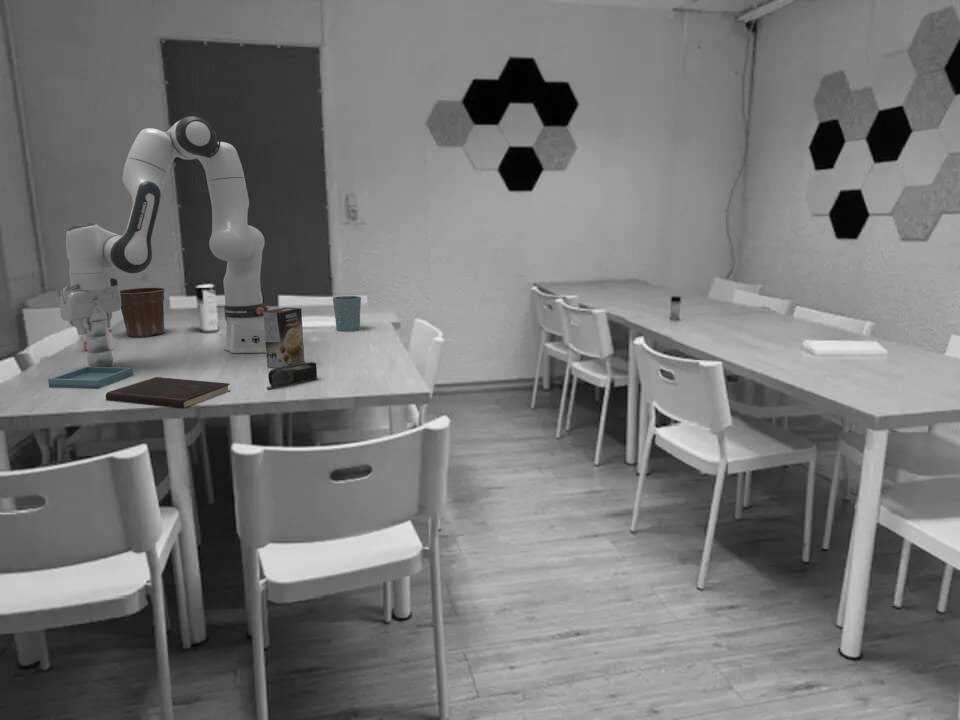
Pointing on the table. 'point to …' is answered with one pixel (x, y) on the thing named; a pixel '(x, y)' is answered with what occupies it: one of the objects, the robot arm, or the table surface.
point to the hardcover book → (167, 392)
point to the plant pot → (143, 311)
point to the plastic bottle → (97, 338)
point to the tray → (90, 377)
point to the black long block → (292, 374)
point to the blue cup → (347, 313)
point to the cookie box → (283, 337)
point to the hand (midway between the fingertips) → (94, 331)
